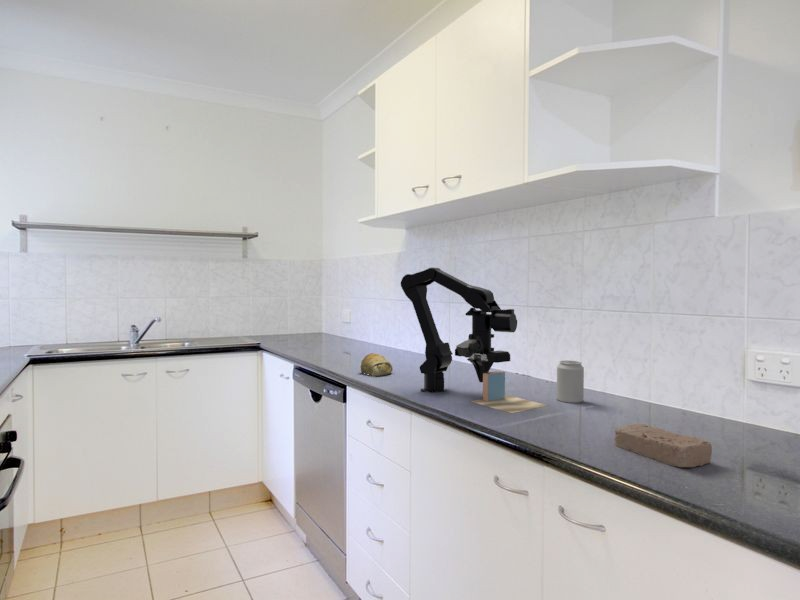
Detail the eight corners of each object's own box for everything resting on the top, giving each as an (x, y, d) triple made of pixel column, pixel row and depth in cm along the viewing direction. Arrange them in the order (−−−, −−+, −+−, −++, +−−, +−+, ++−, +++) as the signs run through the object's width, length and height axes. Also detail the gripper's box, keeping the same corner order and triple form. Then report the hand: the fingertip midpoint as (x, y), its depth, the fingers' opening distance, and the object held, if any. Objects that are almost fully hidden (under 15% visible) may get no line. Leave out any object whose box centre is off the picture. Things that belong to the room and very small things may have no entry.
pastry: (365, 370, 202) (365, 350, 202) (395, 371, 200) (395, 351, 200) (355, 376, 188) (355, 355, 188) (388, 377, 186) (388, 356, 186)
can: (585, 405, 142) (586, 363, 142) (558, 404, 144) (558, 362, 143) (581, 399, 150) (581, 359, 149) (555, 398, 151) (555, 359, 151)
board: (470, 403, 145) (470, 401, 145) (506, 397, 153) (506, 395, 153) (511, 415, 132) (511, 413, 132) (549, 407, 140) (549, 405, 140)
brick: (611, 446, 107) (612, 424, 107) (638, 441, 111) (639, 420, 111) (685, 473, 92) (685, 447, 92) (713, 465, 96) (714, 441, 96)
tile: (482, 400, 146) (482, 373, 146) (499, 397, 150) (500, 370, 150) (488, 401, 144) (488, 374, 144) (505, 398, 148) (505, 371, 148)
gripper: (441, 329, 154) (441, 380, 155) (483, 334, 139) (483, 390, 139) (468, 328, 161) (468, 376, 161) (511, 332, 145) (511, 386, 146)
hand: (481, 382), depth 152 cm, fingers closed
